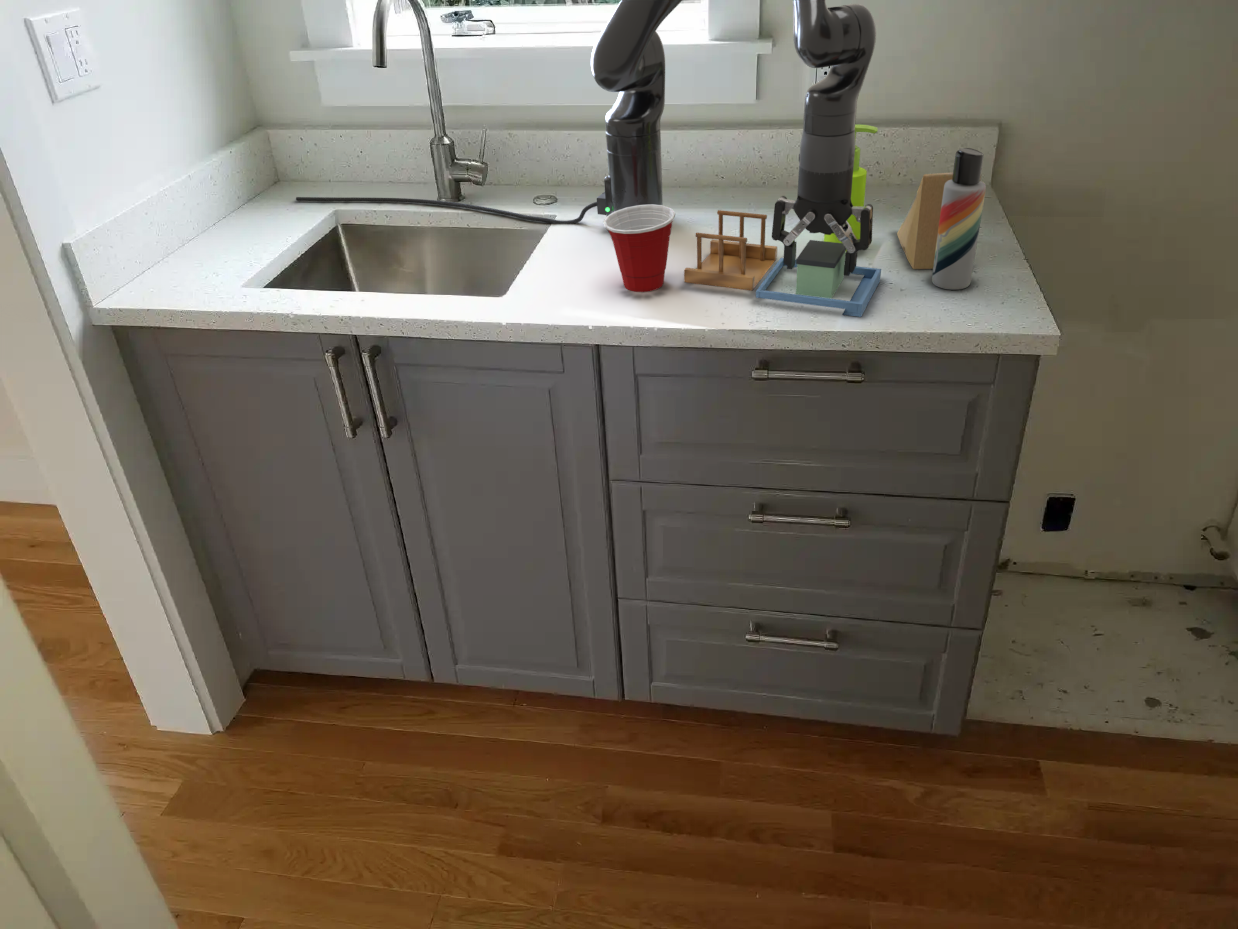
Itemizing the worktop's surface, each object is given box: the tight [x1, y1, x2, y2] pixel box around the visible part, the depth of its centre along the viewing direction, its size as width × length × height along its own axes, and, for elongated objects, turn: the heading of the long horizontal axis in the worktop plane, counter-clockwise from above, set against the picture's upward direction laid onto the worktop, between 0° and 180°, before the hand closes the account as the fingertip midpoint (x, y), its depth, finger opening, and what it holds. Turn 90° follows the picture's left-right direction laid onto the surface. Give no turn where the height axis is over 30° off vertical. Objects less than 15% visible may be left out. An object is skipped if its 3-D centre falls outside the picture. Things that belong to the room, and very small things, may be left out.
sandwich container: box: [896, 171, 982, 270], centre depth 154 cm, size 9×15×15 cm, turn 176°
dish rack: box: [683, 209, 778, 292], centre depth 152 cm, size 11×13×9 cm
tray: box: [755, 257, 882, 318], centre depth 147 cm, size 16×13×2 cm
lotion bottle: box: [931, 147, 987, 291], centre depth 142 cm, size 6×6×20 cm
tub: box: [795, 239, 846, 299], centre depth 145 cm, size 6×8×6 cm
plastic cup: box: [602, 204, 676, 293], centre depth 148 cm, size 11×11×12 cm
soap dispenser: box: [823, 124, 879, 251], centre depth 154 cm, size 6×7×20 cm
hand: (818, 270), depth 145 cm, fingers open, 8 cm apart
